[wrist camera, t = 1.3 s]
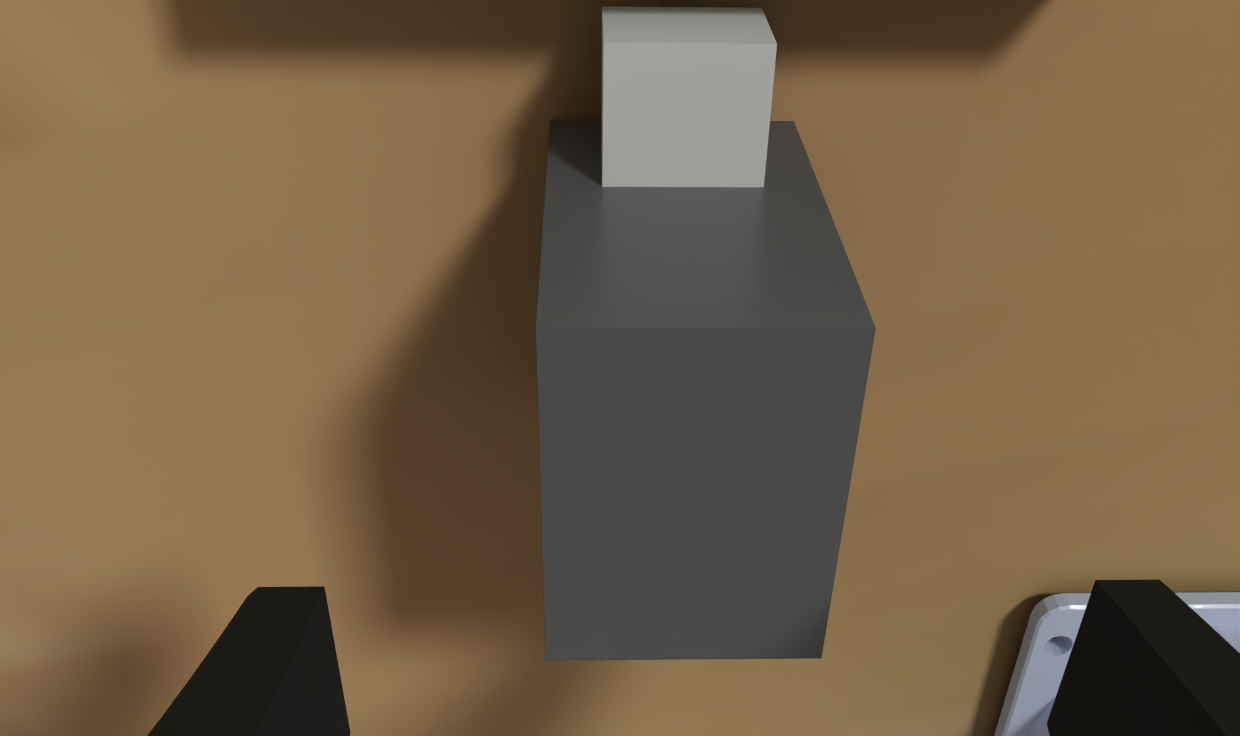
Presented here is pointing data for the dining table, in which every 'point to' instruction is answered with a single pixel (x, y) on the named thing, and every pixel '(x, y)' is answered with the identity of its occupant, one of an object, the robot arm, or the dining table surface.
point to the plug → (692, 356)
